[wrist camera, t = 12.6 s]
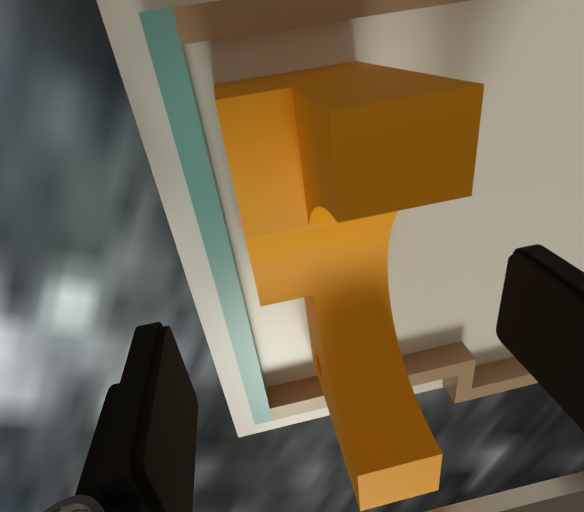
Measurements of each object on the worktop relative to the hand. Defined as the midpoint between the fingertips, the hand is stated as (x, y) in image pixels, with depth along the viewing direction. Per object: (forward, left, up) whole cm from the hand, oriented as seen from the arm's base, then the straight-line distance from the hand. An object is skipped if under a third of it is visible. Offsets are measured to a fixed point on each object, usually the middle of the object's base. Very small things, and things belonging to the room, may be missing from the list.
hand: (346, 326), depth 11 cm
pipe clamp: (0, 0, -5) cm, 5 cm away
